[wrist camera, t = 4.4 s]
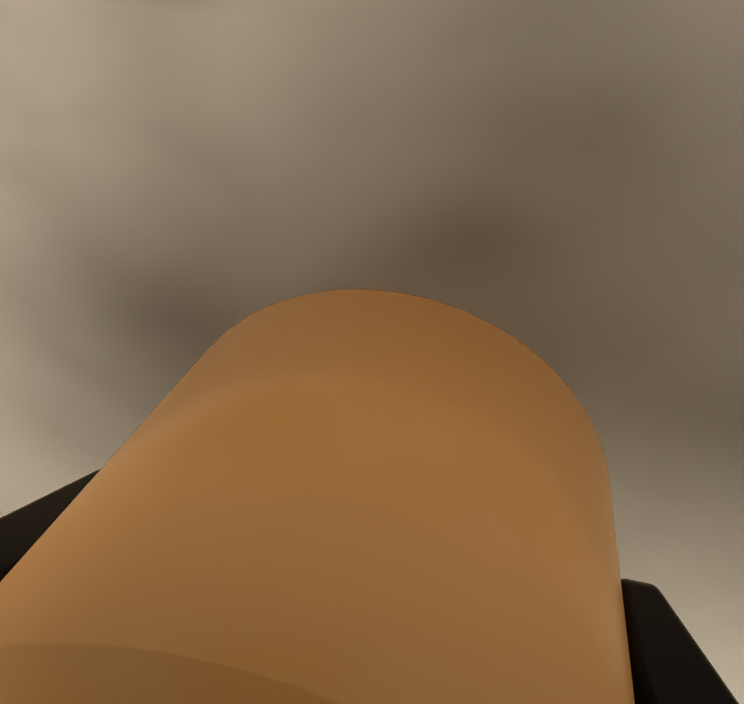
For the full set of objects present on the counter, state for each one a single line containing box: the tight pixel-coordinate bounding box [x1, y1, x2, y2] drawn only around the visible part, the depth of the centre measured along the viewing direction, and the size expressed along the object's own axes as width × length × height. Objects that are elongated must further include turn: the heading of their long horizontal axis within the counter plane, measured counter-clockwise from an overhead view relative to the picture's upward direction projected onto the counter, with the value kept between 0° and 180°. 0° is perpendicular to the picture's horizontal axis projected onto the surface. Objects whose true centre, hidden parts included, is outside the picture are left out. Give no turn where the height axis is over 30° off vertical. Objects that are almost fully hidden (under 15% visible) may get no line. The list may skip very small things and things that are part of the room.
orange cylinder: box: [0, 289, 635, 704], centre depth 7 cm, size 6×6×5 cm
